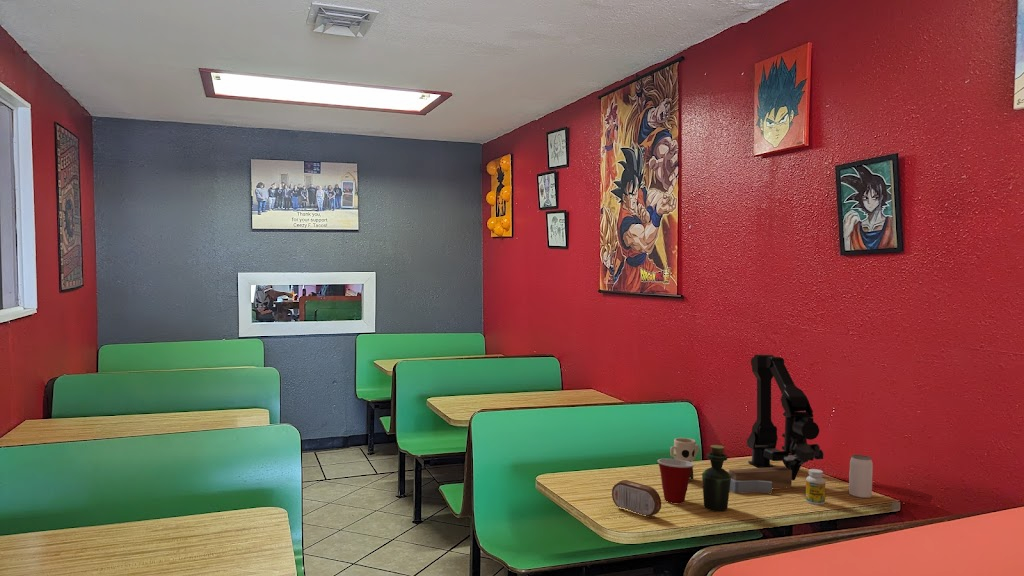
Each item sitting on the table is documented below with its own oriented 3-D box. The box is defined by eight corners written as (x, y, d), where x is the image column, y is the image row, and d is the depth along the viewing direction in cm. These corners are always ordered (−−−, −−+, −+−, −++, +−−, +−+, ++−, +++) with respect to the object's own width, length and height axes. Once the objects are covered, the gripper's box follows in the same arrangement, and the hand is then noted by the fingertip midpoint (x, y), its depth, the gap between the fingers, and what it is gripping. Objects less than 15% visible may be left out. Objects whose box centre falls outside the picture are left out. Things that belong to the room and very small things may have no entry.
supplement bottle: (823, 500, 215) (824, 469, 215) (826, 506, 210) (827, 474, 209) (804, 498, 216) (805, 467, 216) (806, 504, 211) (807, 472, 211)
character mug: (675, 483, 228) (677, 443, 228) (663, 477, 235) (664, 438, 235) (704, 480, 232) (705, 441, 232) (691, 474, 239) (692, 436, 239)
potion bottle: (695, 507, 205) (697, 446, 205) (709, 501, 211) (711, 441, 211) (721, 514, 200) (723, 451, 199) (735, 508, 206) (737, 446, 205)
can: (869, 499, 217) (870, 461, 216) (846, 495, 220) (847, 457, 220) (873, 494, 222) (874, 456, 221) (851, 490, 226) (852, 453, 225)
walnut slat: (728, 488, 226) (729, 469, 226) (783, 485, 231) (784, 466, 231) (735, 491, 222) (736, 472, 222) (791, 488, 227) (791, 470, 227)
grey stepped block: (746, 479, 235) (746, 468, 235) (773, 493, 220) (773, 482, 220) (713, 480, 232) (714, 470, 232) (738, 495, 218) (738, 484, 217)
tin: (661, 518, 196) (662, 488, 196) (655, 521, 194) (656, 490, 194) (615, 505, 206) (616, 476, 206) (609, 507, 204) (610, 478, 204)
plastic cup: (697, 499, 213) (698, 459, 213) (687, 509, 204) (688, 468, 204) (662, 492, 219) (664, 454, 218) (651, 502, 209) (652, 462, 209)
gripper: (783, 439, 220) (782, 488, 220) (835, 437, 224) (834, 486, 225) (763, 431, 231) (761, 478, 231) (813, 429, 235) (811, 476, 235)
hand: (792, 479), depth 230 cm, fingers closed
